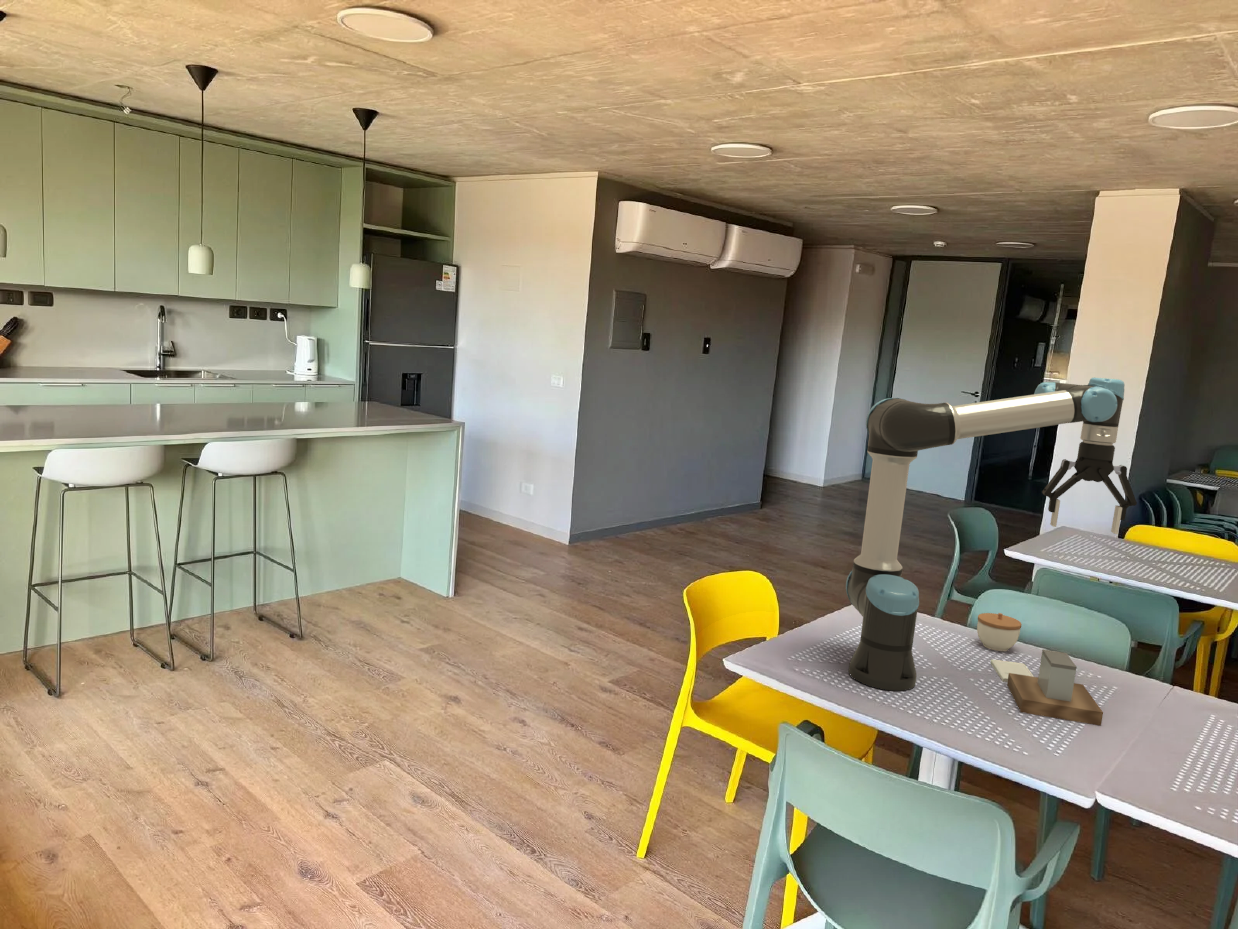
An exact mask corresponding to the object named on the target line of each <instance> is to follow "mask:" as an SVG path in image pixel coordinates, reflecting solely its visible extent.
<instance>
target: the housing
mask: <svg viewBox="0 0 1238 929" xmlns="http://www.w3.org/2000/svg"><path fill="white" fill-rule="evenodd" d="M1077 669H1078V668H1077V666H1076V664H1075V663H1074V662H1073V660H1072V659H1071V657H1070V656H1069V654H1068V653H1067V652H1061V651H1057V650H1055V651H1054V650H1048V649H1042V652H1041V658H1040V664H1039V670H1038V682H1037V683H1038V684H1039V686H1040V688H1041V689H1042V691H1043V693H1044V695H1045V696H1046V698H1052V699H1058V700H1064V701H1070V702H1071V699H1072V692H1073V686H1074V683H1075V679H1076V673H1077Z"/></svg>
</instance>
